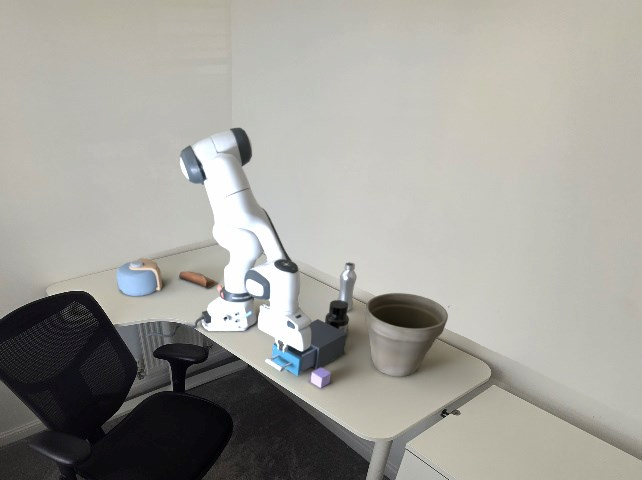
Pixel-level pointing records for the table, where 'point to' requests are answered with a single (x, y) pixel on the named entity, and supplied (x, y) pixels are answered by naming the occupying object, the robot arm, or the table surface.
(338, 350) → the drawer cabinet
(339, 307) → the ink bottle
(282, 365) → the blue drawer
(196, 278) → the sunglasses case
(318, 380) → the purple cube
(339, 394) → the table surface
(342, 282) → the silver metal bottle
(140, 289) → the blue kettle
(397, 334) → the flower pot
